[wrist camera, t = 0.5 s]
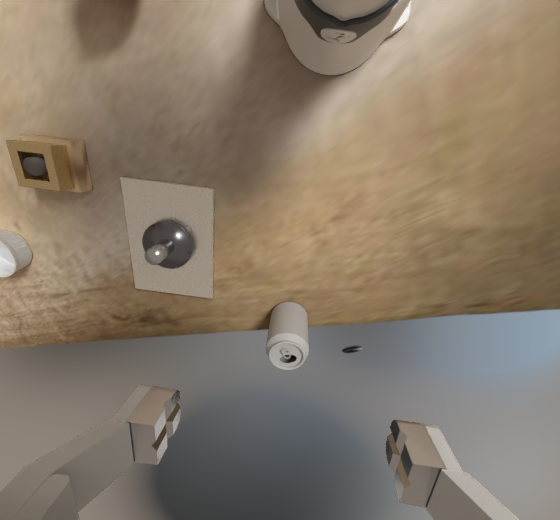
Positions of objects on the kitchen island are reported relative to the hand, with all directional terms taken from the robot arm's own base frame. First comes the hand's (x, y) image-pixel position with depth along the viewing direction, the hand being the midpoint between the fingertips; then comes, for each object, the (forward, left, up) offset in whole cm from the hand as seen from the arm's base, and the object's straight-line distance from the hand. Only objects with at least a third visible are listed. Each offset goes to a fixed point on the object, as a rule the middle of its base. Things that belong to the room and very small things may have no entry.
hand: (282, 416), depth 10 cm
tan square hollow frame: (-2, -40, -36) cm, 54 cm away
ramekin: (+16, -55, -39) cm, 70 cm away
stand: (-2, -40, -39) cm, 56 cm away
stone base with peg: (+10, -22, -39) cm, 46 cm away
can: (+24, +2, -39) cm, 46 cm away
